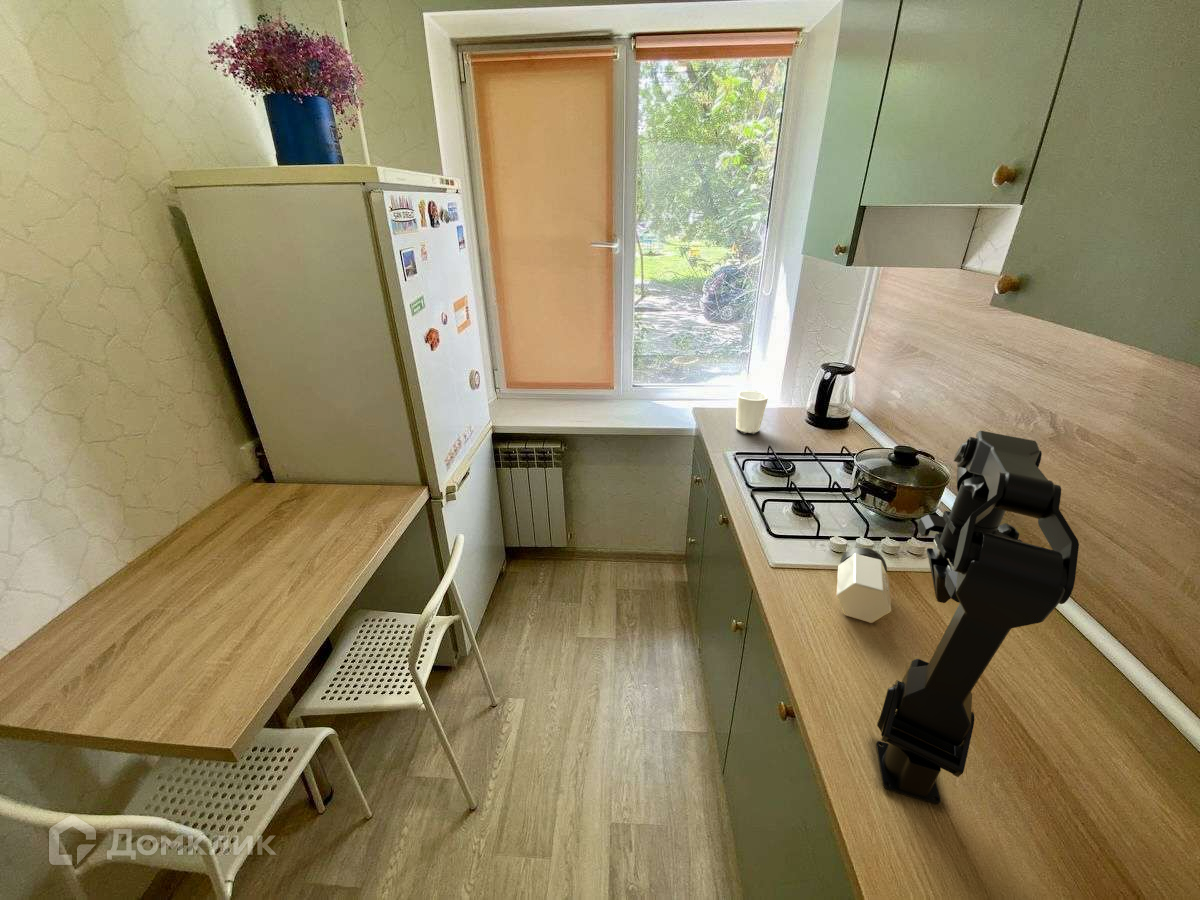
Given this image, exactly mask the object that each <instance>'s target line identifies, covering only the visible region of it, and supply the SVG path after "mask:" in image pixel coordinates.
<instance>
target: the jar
mask: <svg viewBox="0 0 1200 900" xmlns="http://www.w3.org/2000/svg"><path fill="white" fill-rule="evenodd" d="M836 598H837V601H838V603H839V605H840V608H841V610H842V612H843V615H844V616H845V617H850V618H853V619H856V620H859V621H863V622H867V623H870V624H873V623H875V622H876V621H878V620H879V619H881V618H882V617H884V616H886V615H888V614H889V613H891V612H892V600H891V599H892V598H891V588H890V578H889V575H888V567H887V561H886V560H885V559H884V557H883V556H882V554H880V553H879V552H877V551H876V550H874V549H871V548H867V547H853V548H850V549H848V550H847V551H845V552H844V553H843V554H842V555H841V557H840V561H839V564H838V565H837V578H836Z"/></svg>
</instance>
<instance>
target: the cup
mask: <svg viewBox="0 0 1200 900" xmlns="http://www.w3.org/2000/svg"><path fill="white" fill-rule="evenodd" d="M736 396H737V397H736V422H735V423H736V424H735V425H736V426H735V429H736V431H739V432H740V433H741V434H743V435H746V434H751V435H755V434H757V433H758V432H759V431H760V430H761V429H760V428H761V425H762V422H763V418H764V415H765V411H766V407H767V405H768V400H769V396H768V394H766V393H765V392H761V391H757V390H740V391H739V392H737V395H736Z"/></svg>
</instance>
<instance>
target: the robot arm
mask: <svg viewBox="0 0 1200 900" xmlns="http://www.w3.org/2000/svg"><path fill="white" fill-rule="evenodd" d="M1042 453H1043V451H1042V450H1040V447H1039V445H1038V443H1037V440H1032V439H1027V438H1022V437H1016V436H1011V435H1007V434H1001V433H996V432H990V431H986V430H985V431H984V430H978V431H977V432H976V434H975V437H974V436H973V437H972V436H969V437H968V438H967V439H966V441H965V442H962V443H961V445H960V446H959V448H958V449H957V451H956V453H955V454H954V457H953V462H956V489H957V494H956V497H955V500H954V502H953V505H952V506H951V510H949V511H948V510H944V512H943V514H942V516H941V515H936V514H926V515H924V516H922V517H920V519H919V521H918V524H917V530H918V532H919V534H920V536H921V537H924V538H925V537H926V538H927V537H928V536H929V535H930V532H936V533H935V535H934V538H933V544H934V545H933V548H932V547H928V548H926V554H927V558H928V564H929V569H930V573H931V578H932V584H933V590H934V596H935V599H936V602H938V603H942V604H946V603H947V602H948V601H949V600H952V601H954V602H956V603H959V604H958V606H957V607H956V609H955V612H954V613H953V615H952V617H951V619H950V622H948V625H947V627H946V629H945V631H944V632H943V635H942V637H941V639H940V641H939V642H938V644H937V646H936V648H935V650H934V652H933V654H932V656H931V658H930V660H929V662H928V661H925V660H923V659H921V658H917V657H916V658H915V659H913V660H912V661H911V662H910V665H909V668H907V670H906V672H905V674H904V675H903V677H902V678H901V681H900V680H898V679H897V680H895V683H892V686H891V687H887V691H886V695H885V698H884V701H883V705H882V709H881V712H880V715H879V718H878V720H877V723H876V726H877V728H878V729H879V731H880V736H881V738H880V740H881V741H880V740H878V741H876V742H875V749H876V755H877V760H878V767H879V771H880V777H881V783H882V784H881V785H882V787H883V788H884V789H885V790H887V791H890V792H894V793H897V794H900V795H904V796H907V797H910V798H913V799H916V800H920V801H922V802H926V803H930V804H933V805H936V806H938V805H940V803H941V802H942V801H941V800H942V799H941V797H940V792H939V789H938V785H937V781H936V780H937V779H938V777H939V776H940V775H939V774H940V773H941V771H942V770H944V771H946V772H948V773H950V774H952V775H953V776H955V777H957V778H959V777H961V776H962V775H963V774H964V771H965V767H966V763H967V760H968V759H967V758H968V754H969V749H970V744H971V740H972V736H973V731H974V726H975V713H974V711H973V710H972V708H973V693H972V691H973V689H974V688H975V686H976V684H977V683H978V681H979V680H980V678H981V677H982V675H983V674H984V672H985V670H986V669H987V668H988V666H989V664H990V662H991V661H992V660H993V657H994V656H995V654H996V653H997V651H998V650H999V648H1000V647H1001V646H1002V643H1003V642H1004V641H1005V639H1006V638H1007V635H1008V634H1009V633H1010V631H1011V630H1013V629H1016V628H1020V627H1025V626H1031V625H1035V624H1036V625H1037V624H1041V623H1043V622H1044V621H1045V620H1046V619H1047V618H1048V617H1049V616H1050V614H1052V612H1054V610H1055V609H1056V608H1057V607H1058V605H1063V604H1065V603H1066V602H1068V600H1069V598H1070V597H1071V595H1072V594H1073V593H1072V592H1073V590H1074V587H1075V581H1076V575H1077V565H1078V557H1079V549H1080V548H1079V547H1080V542H1079V539H1078V537H1077V536H1076V535H1075V532H1074V531H1073V530H1072V528H1071V526H1070V525H1069V523H1068V522H1067V520H1066V518H1065V517H1064V515H1063V513H1062V512H1061V510H1060V504H1061V498H1062V487H1061V485H1059V484H1055V483H1054V482H1053V480H1050V479H1048V477H1046V476H1045V475H1044V473H1043V472H1042V471H1041V469H1040V468H1039V467H1040V464H1041V461H1042V455H1043V454H1042ZM1006 512H1008V513H1009V512H1010V513H1014V514H1016V515H1022V516H1026V517H1029V518H1034V519H1037V524H1038V527H1039V529H1040V530H1041V532H1042V534H1043V536H1044V537H1045V540H1046V541H1047V543H1048V544H1049V546H1050V548H1051V549H1050V548H1047V547H1043V546H1039V545H1035V544H1031V543H1027V542H1024V541H1023V540H1022V539H1020V538H1019V537H1020V532H1019V531H1018V530H1017V529H1016V528H1015V526H1013V525H1011V524H1009V523H1006V522H1004V523H1003V524H1001V523H1002V521H1003V518H1004V516H1005V514H1006ZM937 532H938V533H937ZM941 769H942V770H941Z"/></svg>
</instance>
